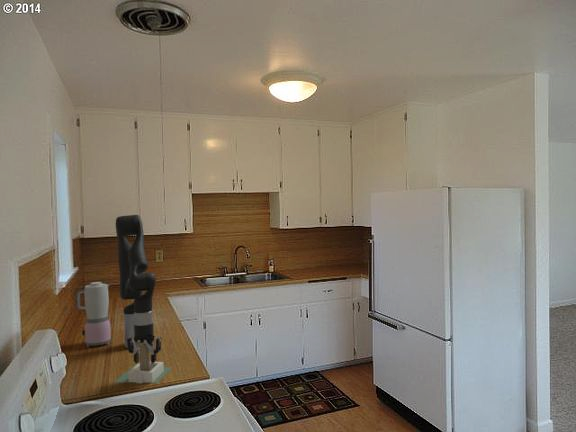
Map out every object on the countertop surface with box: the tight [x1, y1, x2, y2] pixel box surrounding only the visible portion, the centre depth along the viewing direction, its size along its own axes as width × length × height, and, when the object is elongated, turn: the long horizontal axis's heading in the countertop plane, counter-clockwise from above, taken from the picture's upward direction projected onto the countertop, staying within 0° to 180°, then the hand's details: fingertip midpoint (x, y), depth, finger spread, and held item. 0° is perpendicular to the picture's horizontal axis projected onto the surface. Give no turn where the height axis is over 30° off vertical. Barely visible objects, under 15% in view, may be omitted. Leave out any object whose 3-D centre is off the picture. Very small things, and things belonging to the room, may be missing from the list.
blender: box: [75, 281, 112, 348], centre depth 216 cm, size 16×12×32 cm
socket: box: [128, 361, 165, 384], centre depth 171 cm, size 12×10×4 cm
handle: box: [135, 342, 151, 371], centre depth 170 cm, size 5×6×15 cm
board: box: [113, 366, 173, 384], centre depth 174 cm, size 16×18×1 cm
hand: (145, 362), depth 170 cm, fingers open, 6 cm apart
